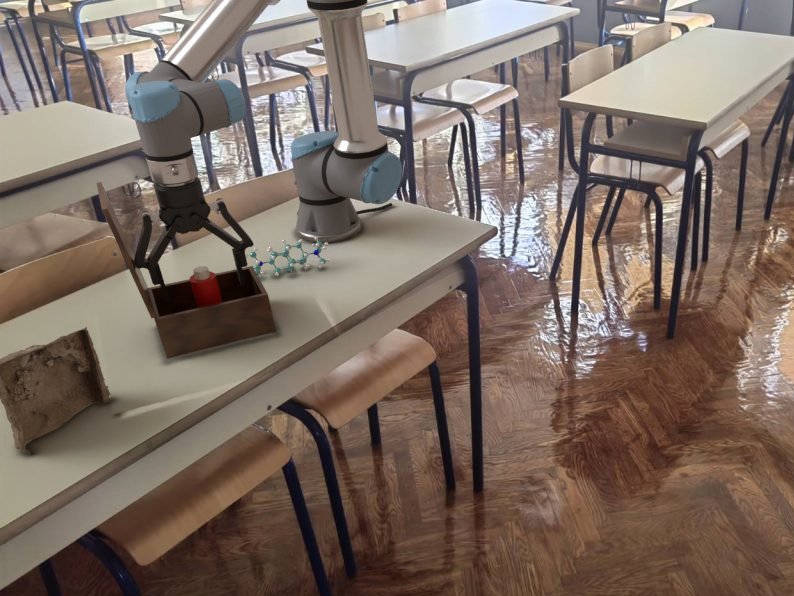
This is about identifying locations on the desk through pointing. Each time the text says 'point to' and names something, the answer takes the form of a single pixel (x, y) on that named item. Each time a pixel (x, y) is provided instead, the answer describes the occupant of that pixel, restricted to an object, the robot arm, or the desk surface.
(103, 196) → the lid
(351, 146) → the robot arm
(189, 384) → the desk surface
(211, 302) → the bottle
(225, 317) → the storage box
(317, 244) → the molecule model
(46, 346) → the mineral sample
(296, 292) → the desk surface
